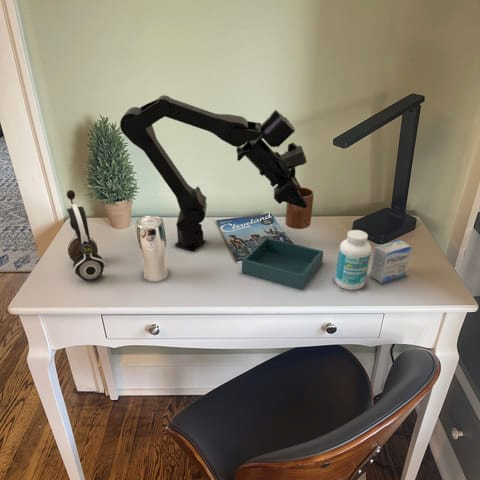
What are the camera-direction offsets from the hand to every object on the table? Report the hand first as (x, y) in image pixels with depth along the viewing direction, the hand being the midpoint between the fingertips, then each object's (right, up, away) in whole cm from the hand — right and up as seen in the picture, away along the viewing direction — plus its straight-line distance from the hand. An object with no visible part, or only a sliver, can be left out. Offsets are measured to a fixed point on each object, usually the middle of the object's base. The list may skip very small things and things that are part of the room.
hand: (304, 201), depth 132 cm
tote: (-6, -18, -2) cm, 19 cm away
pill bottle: (+10, -23, -8) cm, 26 cm away
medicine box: (+20, -21, -5) cm, 29 cm away
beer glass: (-39, -20, -5) cm, 44 cm away
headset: (-57, -19, -3) cm, 60 cm away
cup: (-1, -5, +4) cm, 7 cm away
